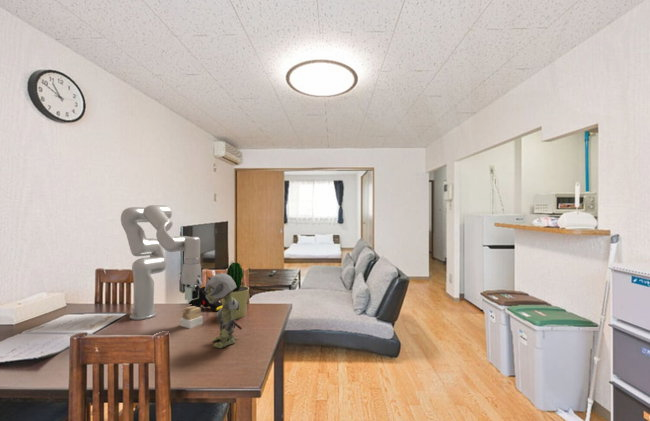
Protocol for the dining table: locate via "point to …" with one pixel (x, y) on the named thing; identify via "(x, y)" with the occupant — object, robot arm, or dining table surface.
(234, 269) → the potted cactus
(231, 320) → the toy
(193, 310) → the tower top
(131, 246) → the robot arm
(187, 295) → the sage block
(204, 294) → the toy gun
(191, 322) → the tower base
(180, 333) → the dining table surface
